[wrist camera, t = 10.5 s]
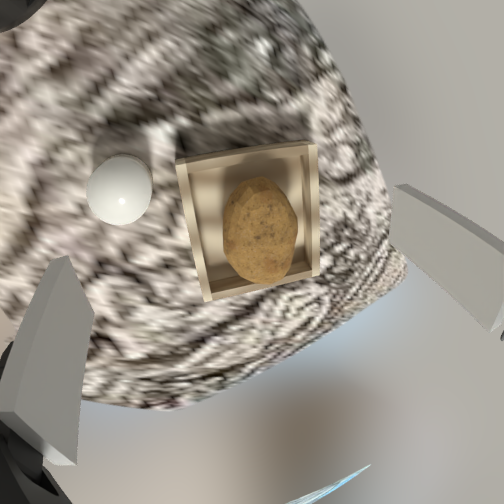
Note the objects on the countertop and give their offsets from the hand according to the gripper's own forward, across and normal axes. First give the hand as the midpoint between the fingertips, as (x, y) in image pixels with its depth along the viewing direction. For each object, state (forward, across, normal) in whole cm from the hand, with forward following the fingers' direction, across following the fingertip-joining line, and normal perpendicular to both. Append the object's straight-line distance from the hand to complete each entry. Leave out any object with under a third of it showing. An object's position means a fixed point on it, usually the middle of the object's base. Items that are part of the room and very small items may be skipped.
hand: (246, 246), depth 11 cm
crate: (+29, +6, -12) cm, 32 cm away
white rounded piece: (+30, -10, -4) cm, 32 cm away
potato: (+28, +6, -12) cm, 32 cm away
